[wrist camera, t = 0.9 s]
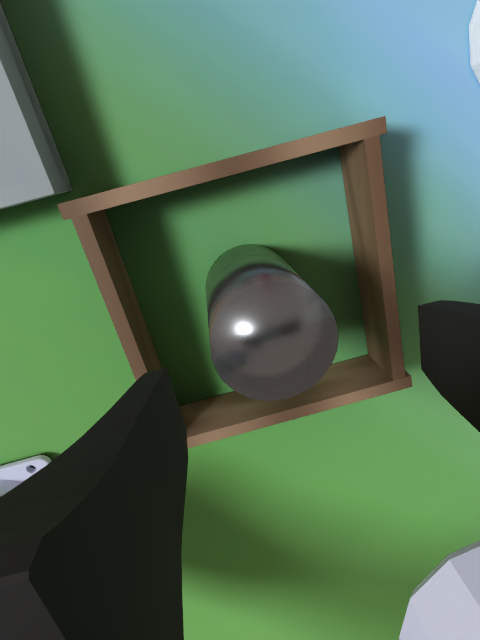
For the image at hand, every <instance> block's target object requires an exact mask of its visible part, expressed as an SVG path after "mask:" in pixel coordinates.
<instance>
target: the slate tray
mask: <svg viewBox="0 0 480 640" xmlns="http://www.w3.org/2000/svg"><path fill="white" fill-rule="evenodd" d="M69 191H73V188H72V186H71V183H70V181H69V178H68V175H67V173H66V170H65V168H64V165H63V163H62V160H61V157H60V155H59V152H58V150H57V147H56V145H55V142H54V139H53V137H52V134H51V132H50V129H49V126H48V124H47V121H46V119H45V116H44V114H43V111H42V108H41V106H40V103H39V101H38V98H37V96H36V93H35V90H34V88H33V85H32V83H31V80H30V78H29V75H28V72H27V70H26V67H25V65H24V62H23V59H22V57H21V54H20V52H19V49H18V47H17V44H16V41H15V39H14V36H13V34H12V31H11V29H10V26H9V23H8V21H7V18H6V16H5V13H4V11H3V8H2V5H1V3H0V210H2V209H6V208H9V207H13V206H17V205H21V204H24V203H28V202H32V201H35V200H39V199H43V198H47V197H50V196H54V195H58V194H61V193H65V192H69Z"/></svg>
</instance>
